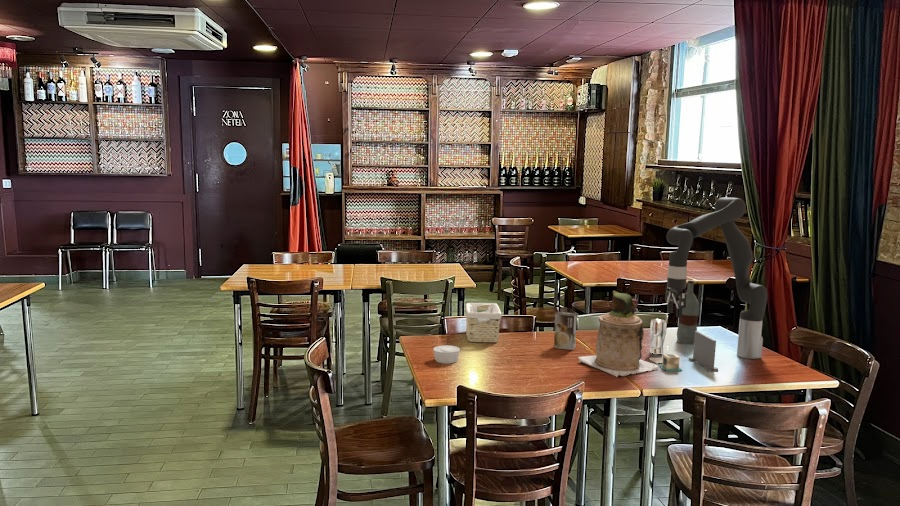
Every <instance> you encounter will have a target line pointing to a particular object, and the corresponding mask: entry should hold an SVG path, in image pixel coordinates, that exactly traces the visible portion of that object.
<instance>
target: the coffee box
mask: <svg viewBox="0 0 900 506" xmlns="http://www.w3.org/2000/svg"><path fill="white" fill-rule="evenodd" d="M577 318H578V317H577V313H576V312H575V313H574V312H567V311H556V313H555V315H554V336H553V337H554V338H553V339H554V340H553V348H554V349H561V350H568V351H569V350H571V351H573V350H574V349H576V342H577V341H576V337H577Z"/></svg>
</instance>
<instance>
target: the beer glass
mask: <svg viewBox="0 0 900 506" xmlns="http://www.w3.org/2000/svg"><path fill="white" fill-rule="evenodd" d="M649 334H650V335H649V337H650V349H649V353H650V354H652V353H653V355H656V354H662V355H663V353H664V343H665V339H666V334H667V320H666V319H665V320H664V319H659V318H652V319H651V320H650V328H649ZM664 354H665V353H664Z"/></svg>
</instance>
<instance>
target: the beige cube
mask: <svg viewBox="0 0 900 506" xmlns="http://www.w3.org/2000/svg"><path fill="white" fill-rule="evenodd" d="M662 358H663V361H662V364H661V365H662V366H664V367H665V368H666V369H679V368H680V356H678V355H676V353H664V354H662Z"/></svg>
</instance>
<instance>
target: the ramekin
mask: <svg viewBox="0 0 900 506" xmlns="http://www.w3.org/2000/svg"><path fill="white" fill-rule="evenodd" d="M432 352H433V355H434V359H435V361H436V362H437V363H440V364H445V365H446V364H448V365H449V364H450V365H451V364H455V363H457V362H458V360H459V356H460V352H461V349H460V348H459V347H458V346H455V345H450V344H449V345H447V344H446V345H445V344H443V345H438V346H434V347H433V349H432Z"/></svg>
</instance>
